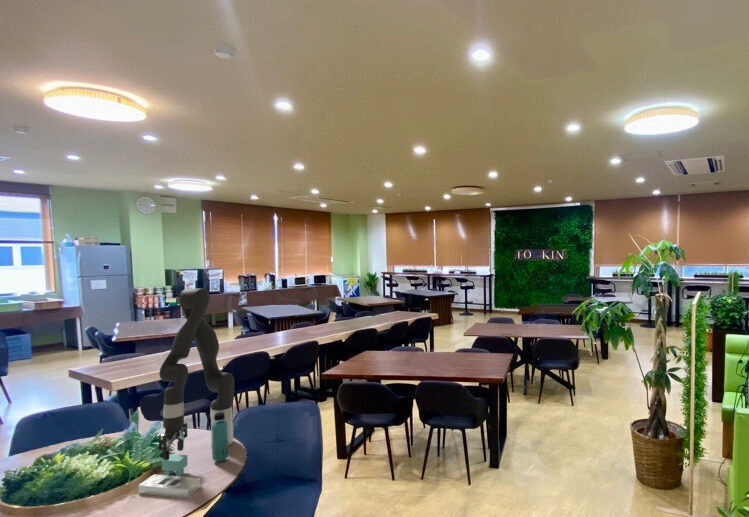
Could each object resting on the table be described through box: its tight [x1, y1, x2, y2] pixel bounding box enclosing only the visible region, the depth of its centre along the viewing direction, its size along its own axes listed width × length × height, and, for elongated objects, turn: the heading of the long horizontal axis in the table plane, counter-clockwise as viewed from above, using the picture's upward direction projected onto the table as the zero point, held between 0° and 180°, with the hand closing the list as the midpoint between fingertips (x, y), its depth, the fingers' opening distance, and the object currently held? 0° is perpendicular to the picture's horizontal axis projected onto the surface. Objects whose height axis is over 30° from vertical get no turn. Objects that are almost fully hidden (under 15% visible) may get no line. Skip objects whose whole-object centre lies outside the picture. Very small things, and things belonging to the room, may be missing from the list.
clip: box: [161, 453, 189, 477], centre depth 168 cm, size 8×5×6 cm
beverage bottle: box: [211, 413, 229, 462], centre depth 179 cm, size 6×7×20 cm
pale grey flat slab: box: [137, 474, 202, 499], centre depth 156 cm, size 8×20×3 cm, turn 79°
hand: (173, 454), depth 168 cm, fingers open, 8 cm apart
